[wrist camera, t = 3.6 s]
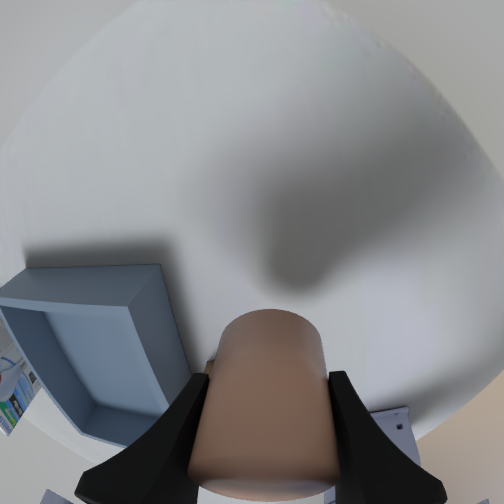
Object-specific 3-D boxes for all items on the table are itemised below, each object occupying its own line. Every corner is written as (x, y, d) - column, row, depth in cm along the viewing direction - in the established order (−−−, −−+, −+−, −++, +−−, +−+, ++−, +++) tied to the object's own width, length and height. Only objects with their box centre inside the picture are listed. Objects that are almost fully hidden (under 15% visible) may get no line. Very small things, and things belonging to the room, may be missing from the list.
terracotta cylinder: (324, 305, 12) (353, 449, 6) (319, 380, 14) (330, 498, 8) (211, 310, 13) (167, 446, 6) (227, 383, 15) (205, 497, 8)
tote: (160, 264, 18) (127, 306, 14) (209, 423, 26) (200, 463, 21) (25, 268, 20) (-9, 295, 15) (96, 404, 27) (80, 434, 23)
